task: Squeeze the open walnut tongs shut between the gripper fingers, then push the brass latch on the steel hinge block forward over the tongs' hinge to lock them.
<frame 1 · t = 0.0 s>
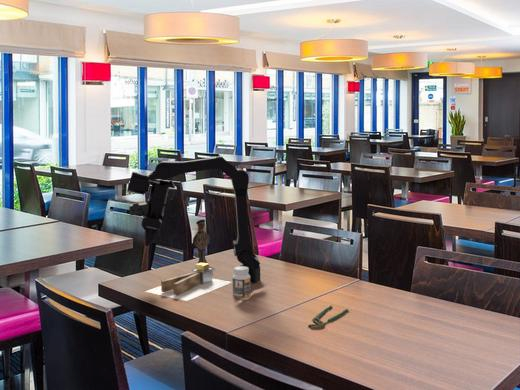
hand: (147, 242, 206), 15 cm above the table, tool pointing down, fingers open, 9 cm apart
figurine: (201, 265, 237), on the table
board: (189, 289, 205), on the table
pliers: (324, 319, 177), on the table
tongs arm 2: (187, 283, 201), point 3 cm above the table, hinge at 8.0°
pill bottle: (241, 298, 196), on the table
tongs arm 1: (179, 281, 203), point 3 cm above the table, hinge at 8.0°
latch: (202, 266, 210), point 6 cm above the table, slide at 0.0 cm
hinge block: (197, 283, 208), resting on board
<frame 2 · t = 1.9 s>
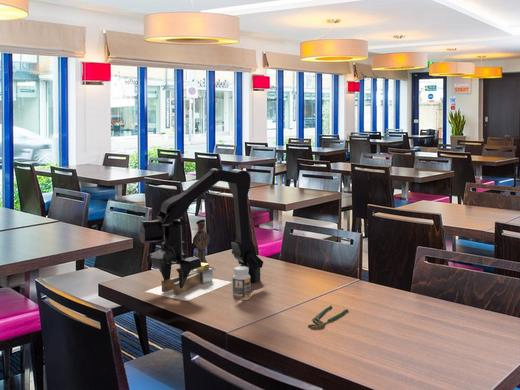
hand: (174, 286, 199), 3 cm above the table, tool pointing down, fingers open, 6 cm apart
tongs arm 2: (186, 283, 201), point 3 cm above the table, hinge at 7.6°, touching gripper
tongs arm 1: (179, 282, 203), point 3 cm above the table, hinge at 7.5°, touching gripper
everything else where it was.
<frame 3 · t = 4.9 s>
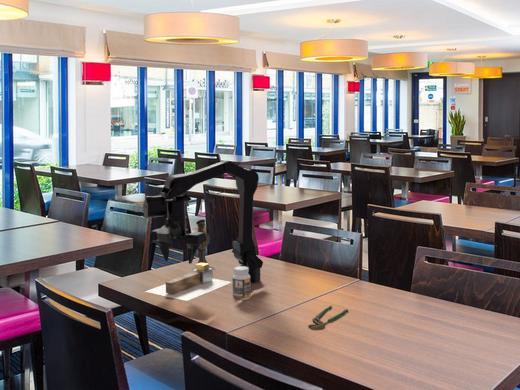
hand: (178, 262, 199), 11 cm above the table, tool pointing down, fingers open, 9 cm apart
tongs arm 2: (184, 283, 202), point 3 cm above the table, hinge at -0.3°
tongs arm 1: (181, 282, 202), point 3 cm above the table, hinge at -0.4°
everything else where it was.
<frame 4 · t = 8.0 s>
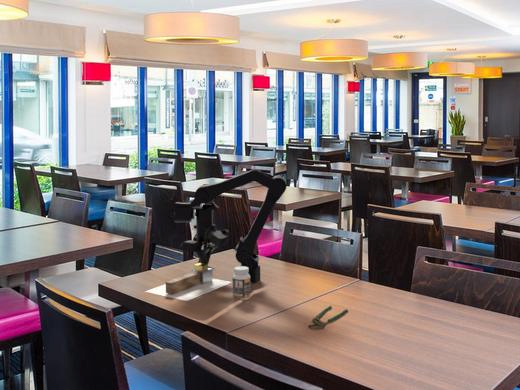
hand: (205, 266, 212), 6 cm above the table, tool pointing down, fingers closed
latch: (201, 267, 209), point 6 cm above the table, slide at 0.8 cm, touching gripper
everything else where it was.
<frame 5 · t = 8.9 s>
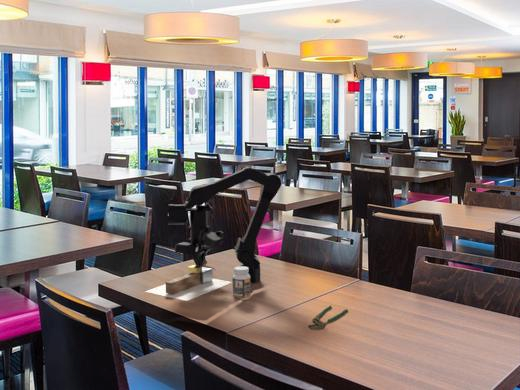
hand: (199, 268, 209), 6 cm above the table, tool pointing down, fingers closed
latch: (195, 269, 207), point 6 cm above the table, slide at 4.0 cm, touching gripper
everything else where it was.
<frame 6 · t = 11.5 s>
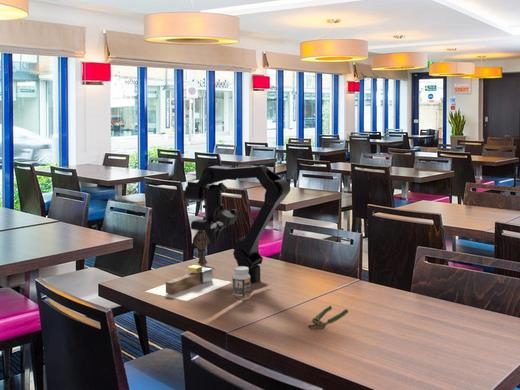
hand: (214, 245, 216), 12 cm above the table, tool pointing down, fingers closed
latch: (195, 269, 207), point 6 cm above the table, slide at 4.0 cm
everything else where it was.
at the end: tongs arm 2 at +0° (first picture: +8°); tongs arm 1 at +0° (first picture: +8°); latch slide at 4.0 cm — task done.
